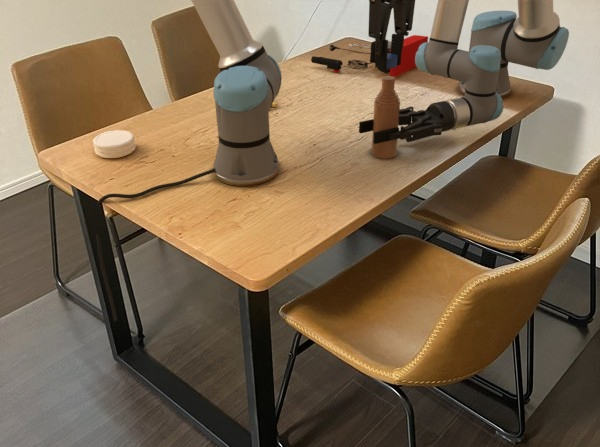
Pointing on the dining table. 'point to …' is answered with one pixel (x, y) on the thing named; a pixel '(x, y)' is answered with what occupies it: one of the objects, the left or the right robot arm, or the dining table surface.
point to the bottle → (386, 117)
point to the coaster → (114, 144)
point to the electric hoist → (406, 58)
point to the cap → (391, 60)
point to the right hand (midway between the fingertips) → (367, 132)
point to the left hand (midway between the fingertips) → (387, 65)
